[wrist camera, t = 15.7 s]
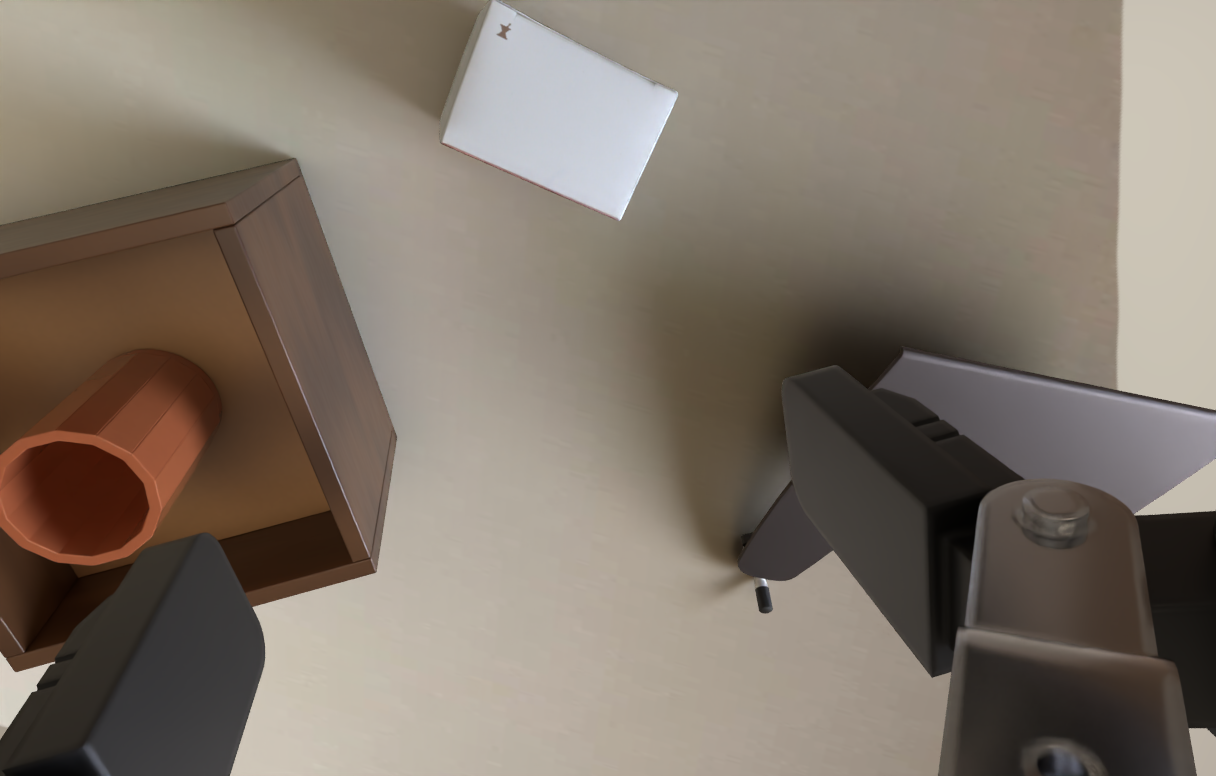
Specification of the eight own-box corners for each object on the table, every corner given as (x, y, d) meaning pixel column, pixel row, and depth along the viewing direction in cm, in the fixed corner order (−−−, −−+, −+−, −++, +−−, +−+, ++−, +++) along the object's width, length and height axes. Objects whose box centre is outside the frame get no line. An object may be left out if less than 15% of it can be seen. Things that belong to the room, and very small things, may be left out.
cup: (65, 366, 32) (-48, 455, 25) (193, 334, 33) (119, 413, 25) (122, 471, 34) (33, 582, 27) (242, 440, 35) (186, 541, 27)
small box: (437, 121, 38) (432, 142, 29) (479, 9, 37) (488, -9, 27) (582, 187, 41) (621, 226, 31) (627, 85, 39) (682, 93, 30)
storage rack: (-19, 229, 37) (-243, 309, 25) (296, 157, 38) (225, 201, 26) (134, 506, 43) (14, 673, 32) (397, 437, 45) (377, 573, 33)
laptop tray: (695, 492, 57) (712, 610, 51) (861, 254, 41) (916, 385, 34) (956, 528, 63) (1000, 637, 57) (1192, 332, 46) (1289, 456, 40)
